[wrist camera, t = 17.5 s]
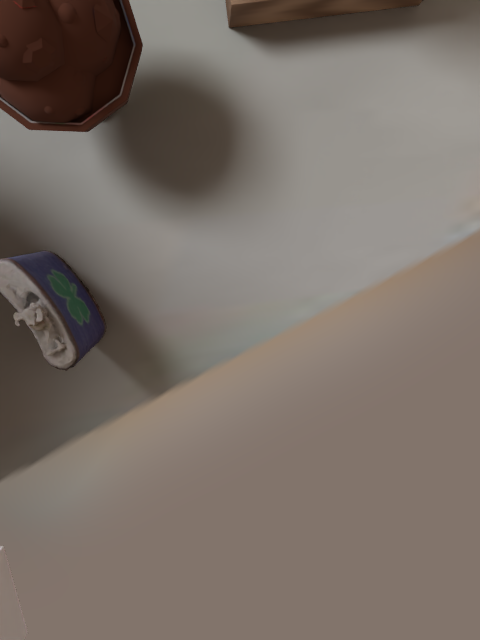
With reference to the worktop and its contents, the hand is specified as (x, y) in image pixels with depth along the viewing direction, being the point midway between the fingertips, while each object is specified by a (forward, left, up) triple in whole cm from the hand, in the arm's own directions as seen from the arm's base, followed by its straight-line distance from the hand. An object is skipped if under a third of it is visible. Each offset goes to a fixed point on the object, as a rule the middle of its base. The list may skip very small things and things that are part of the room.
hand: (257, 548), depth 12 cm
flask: (-13, +4, -31) cm, 34 cm away
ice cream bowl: (-8, +21, -31) cm, 38 cm away
